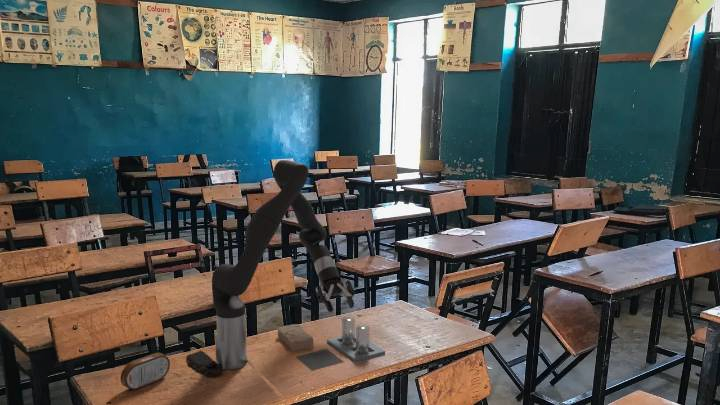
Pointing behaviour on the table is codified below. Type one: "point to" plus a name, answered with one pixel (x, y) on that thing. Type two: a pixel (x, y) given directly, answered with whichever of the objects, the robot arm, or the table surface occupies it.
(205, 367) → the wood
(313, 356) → the mat
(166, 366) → the tin
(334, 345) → the grey slotted holder
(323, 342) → the table surface
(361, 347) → the cylinder
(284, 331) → the brick
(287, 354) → the table surface
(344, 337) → the cylinder
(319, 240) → the robot arm
